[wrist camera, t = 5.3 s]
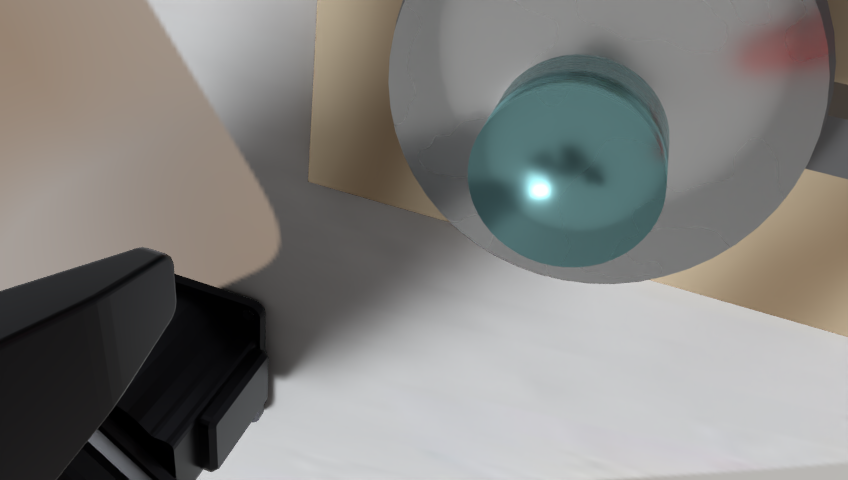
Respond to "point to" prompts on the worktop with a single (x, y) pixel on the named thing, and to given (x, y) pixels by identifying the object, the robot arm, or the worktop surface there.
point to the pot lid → (608, 124)
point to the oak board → (717, 278)
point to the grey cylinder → (827, 113)
